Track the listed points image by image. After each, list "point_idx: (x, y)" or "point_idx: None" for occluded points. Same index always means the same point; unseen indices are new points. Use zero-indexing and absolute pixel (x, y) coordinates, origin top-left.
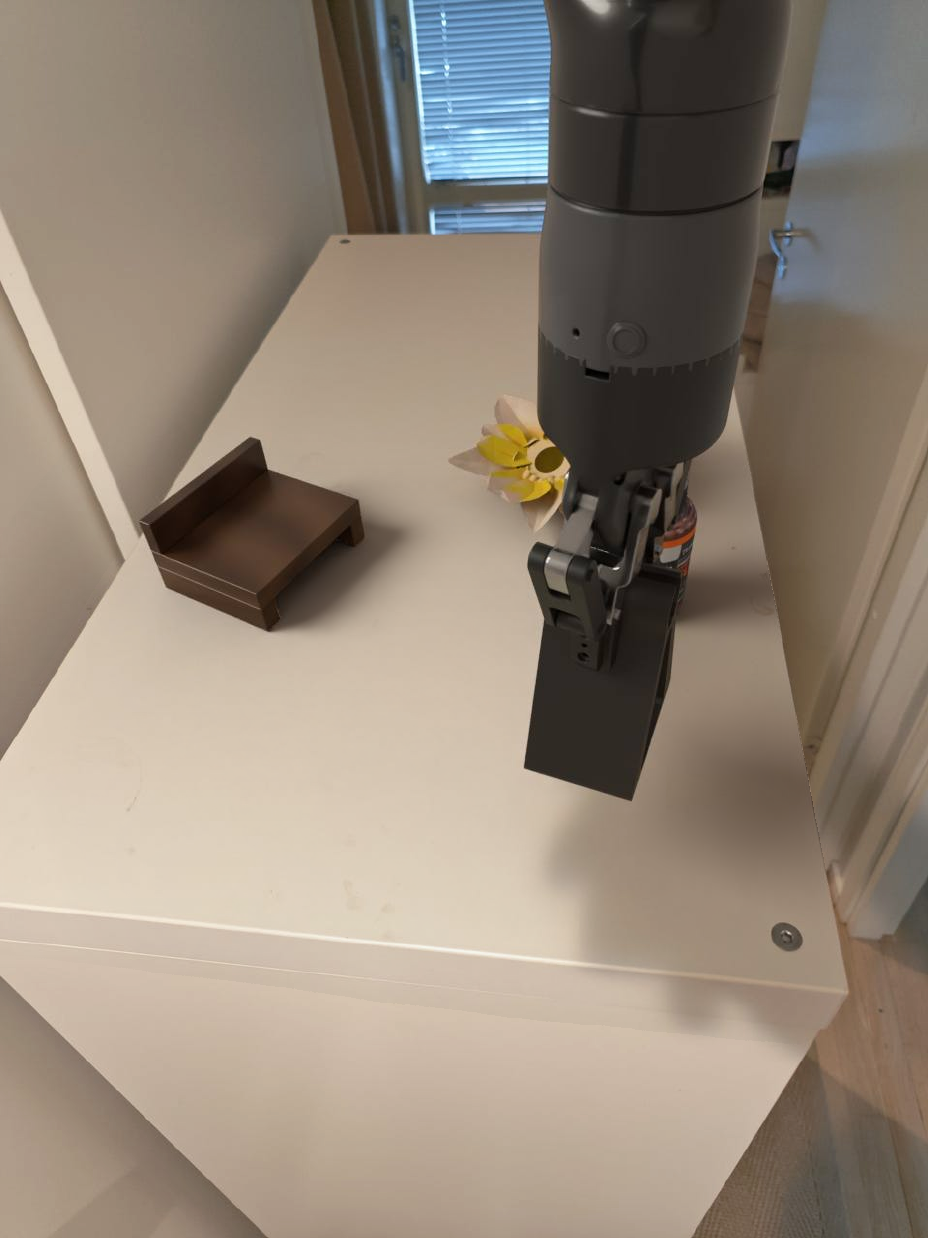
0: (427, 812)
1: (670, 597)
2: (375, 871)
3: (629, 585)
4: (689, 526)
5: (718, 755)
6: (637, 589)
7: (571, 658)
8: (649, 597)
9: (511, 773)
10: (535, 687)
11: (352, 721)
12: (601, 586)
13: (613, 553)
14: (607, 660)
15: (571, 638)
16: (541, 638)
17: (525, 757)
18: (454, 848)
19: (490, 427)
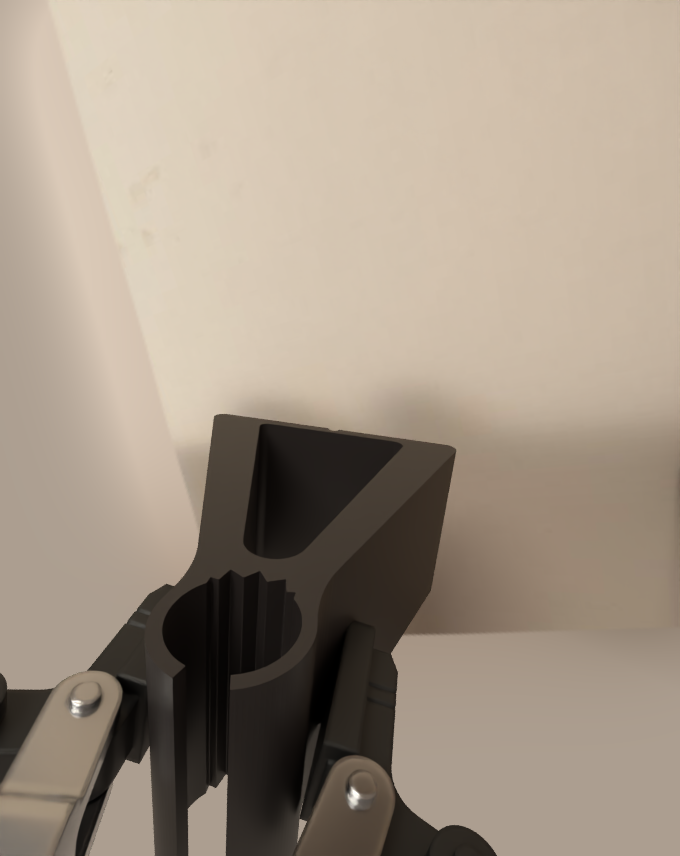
0: (277, 239)
1: None
2: (181, 202)
3: (159, 826)
4: None
5: (447, 564)
6: (159, 835)
7: (149, 595)
8: (155, 846)
9: (364, 333)
10: (207, 475)
11: (399, 46)
12: (151, 763)
13: (337, 756)
14: None
15: (119, 632)
16: (201, 526)
17: (213, 422)
18: (241, 291)
19: None
